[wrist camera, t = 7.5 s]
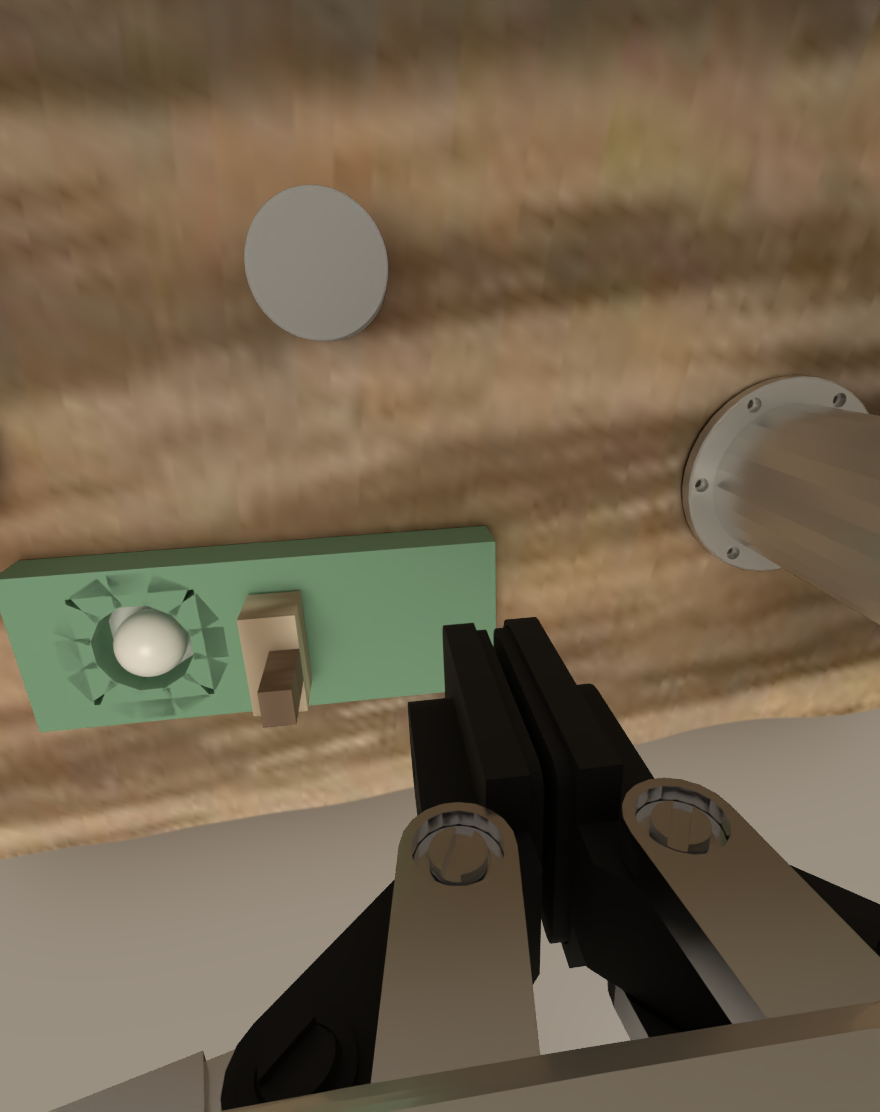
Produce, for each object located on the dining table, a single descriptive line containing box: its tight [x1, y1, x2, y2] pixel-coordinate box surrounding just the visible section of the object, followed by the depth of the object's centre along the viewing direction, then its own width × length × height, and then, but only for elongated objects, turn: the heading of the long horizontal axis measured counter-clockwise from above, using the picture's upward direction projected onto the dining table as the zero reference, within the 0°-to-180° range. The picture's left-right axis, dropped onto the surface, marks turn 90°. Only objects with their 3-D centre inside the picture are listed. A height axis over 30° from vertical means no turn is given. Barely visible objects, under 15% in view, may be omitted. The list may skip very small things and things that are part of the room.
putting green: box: [0, 526, 496, 732], centre depth 38 cm, size 28×10×3 cm, turn 92°
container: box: [244, 185, 388, 341], centre depth 26 cm, size 5×5×15 cm
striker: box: [237, 591, 312, 728], centre depth 33 cm, size 3×6×7 cm, turn 2°
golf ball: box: [113, 609, 187, 677], centre depth 36 cm, size 4×4×4 cm
